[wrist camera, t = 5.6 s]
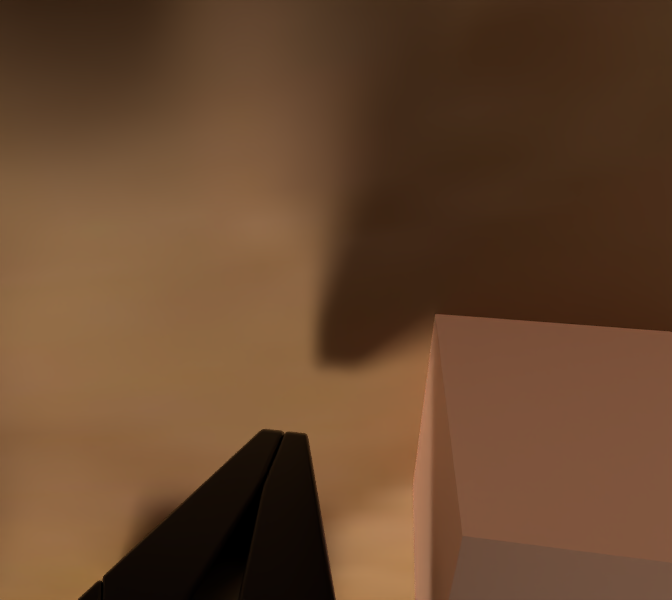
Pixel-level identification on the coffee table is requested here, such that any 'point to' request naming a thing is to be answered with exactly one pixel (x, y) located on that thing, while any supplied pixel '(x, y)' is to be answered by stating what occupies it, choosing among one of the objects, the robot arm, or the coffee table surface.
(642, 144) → the coffee table surface
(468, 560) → the terracotta block
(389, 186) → the coffee table surface
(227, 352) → the coffee table surface
